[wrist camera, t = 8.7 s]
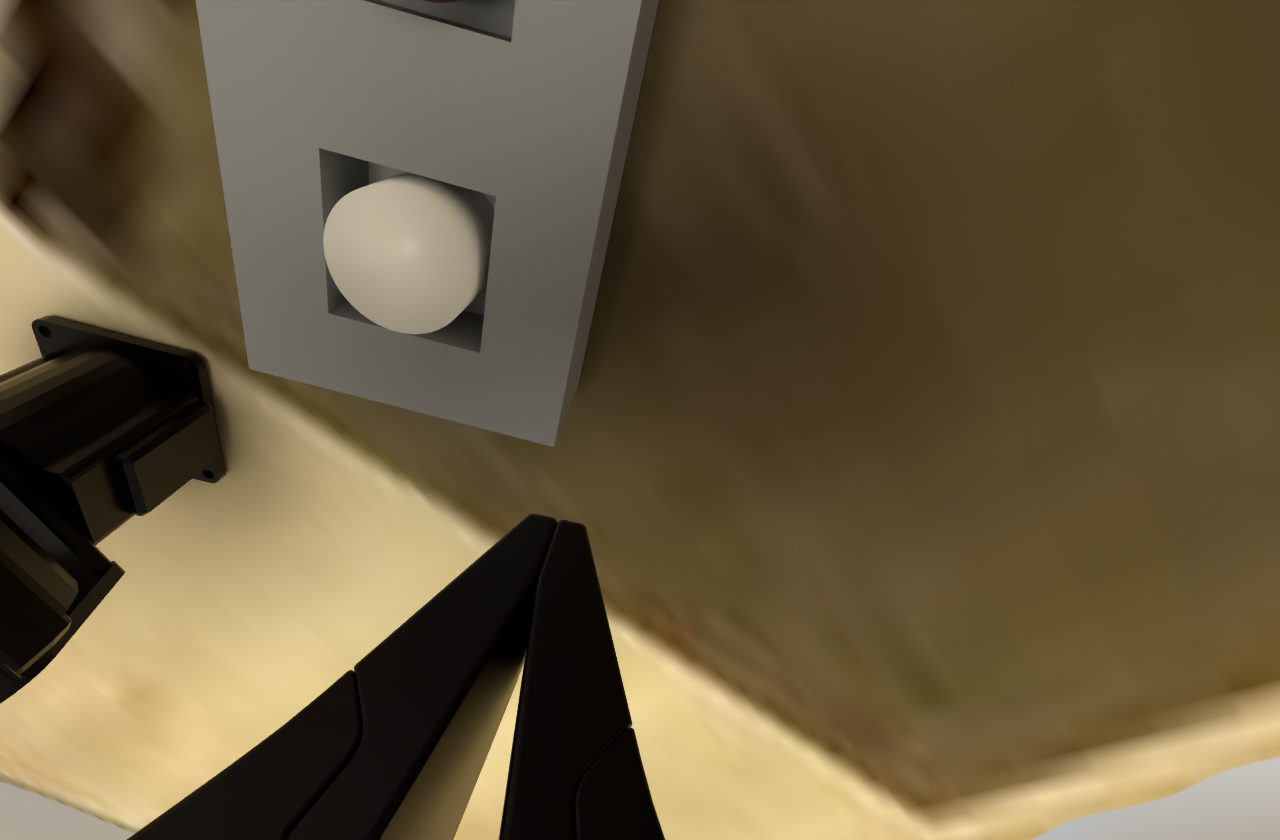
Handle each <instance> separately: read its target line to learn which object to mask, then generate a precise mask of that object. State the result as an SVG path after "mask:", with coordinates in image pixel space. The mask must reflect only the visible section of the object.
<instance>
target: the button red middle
mask: <svg viewBox="0 0 1280 840" xmlns="http://www.w3.org/2000/svg"><path fill="white" fill-rule="evenodd" d="M423 1H428V2H434V3H447V2H454V1H458V0H423Z"/></svg>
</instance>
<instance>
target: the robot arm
mask: <svg viewBox="0 0 1280 840" xmlns="http://www.w3.org/2000/svg"><path fill="white" fill-rule="evenodd" d="M32 329H33V332H34V334H35V337H36V340H37V343H38V346H39V348H40V351H41V354H42V358H39V359H37V360H35V361H32V362H30V363H28V364H26V365H23V366H21V367H19V368H16V369H14V370H12V371H9V372H7V373H5V374H3V375H0V703H2V702H3V701H5V700H6V699H8V698H9V697H10V696H12V695H13V694H15V693H16V692H17V691H18V690H20V689H21V688H22V687H24V686H25V685H26V684H27V683H29V682H30V681H31V680H32V679H33V678H34V677H36V676H37V675H38V674H39V673H40V672H41V671H42V670H43V669H44V668H45V667H46V666H47V665H48V664H49V663H50V662H51V661H52V660H53V659H54V658H55V657H56V655H57V654H58V653H59V652H60V651H61V649H62V648H63V647H64V646H65V645H66V643H67V642H68V641H69V640H70V639H71V637H72V636H73V635H74V634H75V632H76V631H77V630H78V629H79V628H80V626H81V625H82V624H83V623H84V622H85V620H86V619H87V618H88V617H89V616H90V614H91V613H92V612H93V611H94V610H95V608H96V607H97V606H98V605H99V604H100V602H101V601H102V600H103V599H104V597H105V596H106V595H107V594H108V593H109V591H110V590H111V589H112V588H113V587H114V585H115V584H116V583H117V582H118V581H119V579H120V578H121V577H122V576H123V575H124V573H125V571H124V570H123V569H122V568H121V567H120V566H119V565H118V564H117V563H116V562H115V561H112V562H111V561H110V560H109V559H108V558H107V557H106V556H105V555H104V554H103V553H102V552H101V551H100V550H99V549H98V548H97V547H96V546H95V545H96V544H98V543H99V542H100V541H102V540H103V539H104V538H105V537H107V536H108V535H109V534H111V533H112V532H113V531H114V530H116V529H117V528H118V527H120V526H121V525H122V524H123V523H125V522H126V521H127V520H128V519H130V518H131V517H132V516H134V515H138V516H144V515H145V514H147V513H149V512H150V511H152V510H153V509H154V508H155V507H157V506H158V505H159V504H160V503H162V502H163V501H164V500H165V499H167V498H168V497H169V496H170V495H172V494H173V493H174V492H175V491H177V490H178V489H179V488H180V487H182V486H183V485H184V484H185V483H187V482H188V481H189V480H191V479H192V478H193V479H197V480H201V481H205V482H209V483H216V482H218V481H219V480H220V479H222V478H223V477H224V476H225V474H226V471H225V466H224V460H223V455H222V450H221V445H220V439H219V434H218V429H217V424H216V418H215V413H214V408H213V403H212V397H211V392H210V387H209V382H208V376H207V371H206V366H205V364H204V362H203V360H202V359H201V358H200V357H199V356H198V355H196V354H194V353H192V352H188V351H184V350H180V349H176V348H173V347H169V346H165V345H161V344H157V343H153V342H149V341H145V340H141V339H138V338H134V337H130V336H126V335H122V334H118V333H114V332H110V331H106V330H103V329H99V328H95V327H91V326H87V325H83V324H79V323H75V322H71V321H67V320H64V319H60V318H56V317H52V316H45V317H42V318H40V319H37V320H35V321H33V323H32ZM188 364H189V365H190V366H191V367H190V366H189V365H188ZM524 660H525V661H524ZM523 664H524V668H523V675H522V682H521V689H520V696H519V703H518V710H517V717H516V724H515V731H514V737H513V744H512V751H511V758H510V765H509V772H508V779H507V786H506V793H505V800H504V807H503V814H502V821H501V828H500V835H499V840H665V838H664V835H663V832H662V829H661V826H660V823H659V820H658V817H657V814H656V811H655V808H654V805H653V801H652V798H651V794H650V790H649V787H648V783H647V779H646V776H645V772H644V768H643V764H642V761H641V757H640V753H639V748H638V744H637V740H636V736H635V732H634V729H633V728H631V726H632V720H631V716H630V712H629V708H628V703H627V699H626V695H625V691H624V686H623V682H622V678H621V674H620V669H619V665H618V661H617V657H616V653H615V648H614V644H613V640H612V636H611V631H610V627H609V623H608V619H607V615H606V610H605V606H604V602H603V598H602V593H601V589H600V585H599V581H598V577H597V572H596V568H595V564H594V560H593V555H592V551H591V547H590V543H589V538H588V534H587V530H586V527H585V526H584V525H583V524H580V523H576V522H571V521H566V520H560V521H559V522H558V523H557V521H556V519H555V518H552V517H548V516H543V515H538V514H530V515H528V516H527V517H526V518H525V519H524V520H522V521H521V522H520V523H519V524H518V525H517V526H515V527H514V528H513V529H512V530H511V531H510V532H509V533H507V534H506V535H505V536H504V537H503V538H502V539H500V540H499V541H498V542H497V543H496V544H495V545H494V546H492V547H491V548H490V549H489V550H488V551H487V552H485V553H484V554H483V555H482V556H481V557H480V558H478V559H477V560H476V561H475V562H474V563H473V564H472V565H470V566H469V567H468V568H467V569H466V570H465V571H463V572H462V573H461V574H460V575H459V576H458V577H457V578H455V579H454V580H453V581H452V582H451V583H450V584H448V585H447V586H446V587H445V588H444V589H443V590H442V591H440V592H439V593H438V594H437V595H436V596H435V597H433V598H432V599H431V600H430V601H429V602H428V603H426V604H425V605H424V606H423V607H422V608H421V609H420V610H418V611H417V612H416V613H415V614H414V615H413V616H411V617H410V618H409V619H408V620H407V621H406V622H405V623H403V624H402V625H401V626H400V627H399V628H398V629H396V630H395V631H394V632H393V633H392V634H391V635H390V636H388V637H387V638H386V639H385V640H384V641H383V642H381V643H380V644H379V645H378V646H377V647H376V648H374V649H373V650H372V651H371V652H370V653H369V654H368V655H366V656H365V657H364V658H363V659H362V660H361V661H359V662H358V663H357V664H356V665H355V667H354V671H352V670H349V671H347V672H346V673H345V674H344V675H343V676H342V677H341V678H339V679H338V680H337V681H336V682H335V683H334V684H333V685H331V686H330V687H329V688H328V689H327V690H326V691H325V692H323V693H322V694H321V695H320V696H319V697H317V698H316V699H315V700H314V701H312V702H311V703H310V704H309V705H308V706H306V707H305V708H304V709H303V710H302V711H300V712H299V713H298V714H297V715H295V716H294V717H293V718H292V719H291V720H289V721H288V722H287V723H286V724H284V725H283V726H282V727H281V728H279V729H278V730H277V731H275V732H274V733H273V734H271V735H270V736H269V737H267V738H266V739H265V740H263V741H262V742H261V743H259V744H258V745H257V746H255V747H254V748H253V749H251V750H250V751H249V752H247V753H246V754H245V755H243V756H242V757H241V758H239V759H238V760H237V761H235V762H234V763H233V764H231V765H230V766H228V767H227V768H226V769H224V770H223V771H222V772H220V773H219V774H217V775H216V776H215V777H213V778H212V779H210V780H209V781H208V782H206V783H205V784H203V785H202V786H201V787H199V788H198V789H197V790H195V791H194V792H192V793H191V794H190V795H188V796H187V797H185V798H184V799H183V800H181V801H180V802H178V803H177V804H176V805H174V806H173V807H172V808H170V809H169V810H167V811H166V812H165V813H163V814H162V815H160V816H159V817H158V818H156V819H155V820H153V821H152V822H151V823H149V824H148V825H147V826H145V827H144V828H142V829H141V830H140V831H138V832H137V833H135V834H134V835H133V836H131V837H130V838H128V839H127V840H453V839H454V837H455V834H456V832H457V829H458V827H459V824H460V822H461V819H462V817H463V814H464V812H465V809H466V807H467V804H468V802H469V799H470V797H471V794H472V792H473V789H474V787H475V784H476V782H477V779H478V777H479V774H480V772H481V770H482V767H483V765H484V762H485V760H486V757H487V755H488V752H489V750H490V747H491V745H492V742H493V740H494V737H495V735H496V732H497V730H498V727H499V725H500V722H501V720H502V717H503V715H504V712H505V710H506V707H507V705H508V702H509V700H510V697H511V695H512V692H513V690H514V688H515V685H516V683H517V680H518V677H519V675H520V672H521V669H522V666H523Z"/></svg>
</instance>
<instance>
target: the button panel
mask: <svg viewBox="0 0 1280 840" xmlns="http://www.w3.org/2000/svg"><path fill="white" fill-rule="evenodd" d="M658 3H659V0H458V1H454V2H447V3H434V2H428V1H423V0H196V6H197V13H198V19H199V26H200V33H201V40H202V47H203V54H204V61H205V68H206V75H207V82H208V89H209V95H210V102H211V109H212V116H213V123H214V130H215V137H216V144H217V151H218V158H219V165H220V171H221V178H222V185H223V192H224V199H225V206H226V213H227V220H228V227H229V234H230V241H231V247H232V254H233V261H234V268H235V275H236V282H237V289H238V296H239V303H240V310H241V317H242V323H243V330H244V337H245V344H246V351H247V358H248V365H249V369H252V370H256V371H260V372H263V373H267V374H271V375H275V376H279V377H283V378H287V379H291V380H295V381H298V382H302V383H306V384H310V385H314V386H318V387H322V388H326V389H330V390H334V391H337V392H341V393H345V394H349V395H353V396H357V397H361V398H365V399H369V400H372V401H376V402H380V403H384V404H388V405H392V406H396V407H400V408H404V409H408V410H411V411H415V412H419V413H423V414H427V415H431V416H435V417H439V418H443V419H446V420H450V421H454V422H458V423H462V424H466V425H470V426H474V427H478V428H481V429H485V430H489V431H493V432H497V433H501V434H505V435H509V436H513V437H517V438H520V439H524V440H528V441H532V442H536V443H540V444H544V445H548V446H552V447H554V446H555V443H556V441H557V438H558V436H559V433H560V431H561V429H562V426H563V424H564V421H565V419H566V416H567V414H568V411H569V409H570V406H571V404H572V401H573V399H574V396H575V394H576V391H577V389H578V384H579V380H580V375H581V370H582V365H583V361H584V356H585V351H586V346H587V341H588V337H589V332H590V327H591V322H592V318H593V313H594V308H595V303H596V299H597V294H598V289H599V284H600V279H601V275H602V270H603V265H604V260H605V256H606V251H607V246H608V241H609V237H610V232H611V227H612V222H613V217H614V213H615V208H616V203H617V198H618V194H619V189H620V184H621V179H622V175H623V170H624V165H625V160H626V155H627V151H628V146H629V141H630V136H631V132H632V127H633V122H634V117H635V112H636V108H637V103H638V98H639V93H640V89H641V84H642V79H643V74H644V70H645V65H646V60H647V55H648V50H649V46H650V41H651V36H652V31H653V27H654V22H655V17H656V12H657V8H658ZM405 172H409V173H413V174H416V175H420V176H424V177H427V178H431V179H435V180H438V181H442V182H446V183H449V184H453V185H456V186H460V187H464V188H467V189H471V190H475V191H478V192H481V193H482V194H483V195H484V196H485V198H486V199H487V200H488V202H489V203H490V205H491V206H492V208H493V209H494V220H493V230H492V240H491V250H490V260H489V270H488V281H487V287H486V288H485V289H484V290H483V291H482V292H481V293H480V294H479V295H478V296H477V297H476V298H475V299H474V300H473V301H472V302H471V303H470V304H469V305H468V306H467V307H466V308H465V309H464V310H463V311H462V312H461V313H460V314H459V315H458V316H457V317H456V318H455V319H454V320H453V321H452V322H450V323H449V324H448V325H446V326H445V327H443V328H441V329H439V330H436V331H433V332H430V333H424V334H406V333H400V332H396V331H393V330H390V329H387V328H384V327H382V326H380V325H378V324H376V323H374V322H373V321H371V320H369V319H368V318H366V317H365V316H364V315H362V314H361V313H360V312H359V311H358V310H356V309H355V308H354V307H353V306H352V305H351V304H350V303H349V302H348V301H347V299H346V298H345V297H344V296H343V294H342V293H341V292H340V290H339V289H338V287H337V285H336V284H335V282H334V280H333V278H332V276H331V274H330V271H329V269H328V266H327V263H326V259H325V255H324V246H323V235H324V229H325V224H326V221H327V218H328V216H329V214H330V212H331V210H332V209H333V207H334V206H335V205H336V203H337V202H338V201H339V200H340V199H341V198H342V197H344V196H345V195H347V194H348V193H350V192H352V191H354V190H356V189H359V188H362V187H364V186H367V185H370V184H373V183H376V182H379V181H382V180H385V179H387V178H390V177H393V176H396V175H399V174H402V173H405Z"/></svg>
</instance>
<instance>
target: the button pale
mask: <svg viewBox="0 0 1280 840" xmlns="http://www.w3.org/2000/svg"><path fill="white" fill-rule="evenodd" d="M493 220H494V209H493V208H492V206H491V205H490V203H489V202H488V200H487V199H486V198H485V196H484V195H483V194H482V193H481V192H478V191H475V190H471V189H467V188H464V187H460V186H456V185H453V184H449V183H446V182H442V181H438V180H435V179H431V178H427V177H424V176H420V175H416V174H413V173H409V172H405V173H402V174H399V175H396V176H393V177H390V178H387V179H385V180H382V181H379V182H376V183H373V184H370V185H367V186H364V187H362V188H359V189H356V190H354V191H352V192H350V193H348V194H347V195H345V196H344V197H342V198H341V199H340V200H339V201H338V202H337V203H336V205H335V206H334V207H333V209H332V210H331V212H330V214H329V216H328V218H327V221H326V224H325V229H324V235H323V246H324V255H325V259H326V263H327V266H328V269H329V271H330V274H331V276H332V278H333V280H334V282H335V284H336V285H337V287H338V289H339V290H340V292H341V293H342V294H343V296H344V297H345V298H346V299H347V301H348V302H349V303H350V304H351V305H352V306H353V307H354V308H355V309H356V310H358V311H359V312H360V313H361V314H362V315H364V316H365V317H366V318H368V319H369V320H371V321H373V322H374V323H376V324H378V325H380V326H382V327H384V328H387V329H390V330H393V331H396V332H400V333H406V334H424V333H430V332H433V331H436V330H439V329H441V328H443V327H445V326H446V325H448V324H449V323H450V322H452V321H453V320H454V319H455V318H456V317H457V316H458V315H459V314H460V313H461V312H462V311H463V310H464V309H465V308H466V307H467V306H468V305H469V304H470V303H471V302H472V301H473V300H474V299H475V298H476V297H477V296H478V295H479V294H480V293H481V292H482V291H483V290H484V289H485V288H486V287H487V281H488V270H489V260H490V250H491V240H492V230H493Z"/></svg>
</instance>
